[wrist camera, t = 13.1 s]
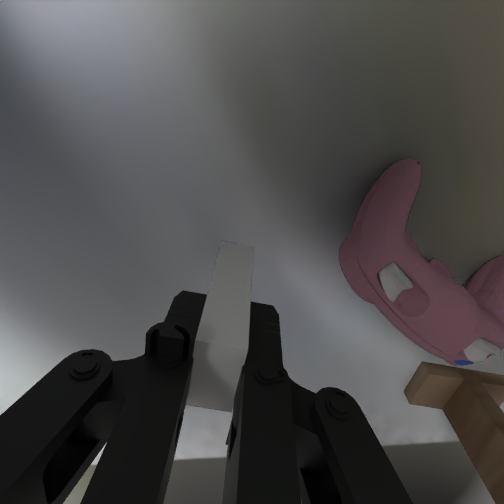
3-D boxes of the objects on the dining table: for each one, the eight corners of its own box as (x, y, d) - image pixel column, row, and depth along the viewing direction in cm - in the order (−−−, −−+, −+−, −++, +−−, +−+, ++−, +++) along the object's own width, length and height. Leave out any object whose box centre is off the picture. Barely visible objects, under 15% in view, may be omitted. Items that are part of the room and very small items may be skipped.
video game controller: (335, 195, 18) (313, 295, 14) (408, 141, 15) (410, 251, 10) (445, 286, 21) (457, 395, 16) (528, 258, 17) (570, 385, 13)
